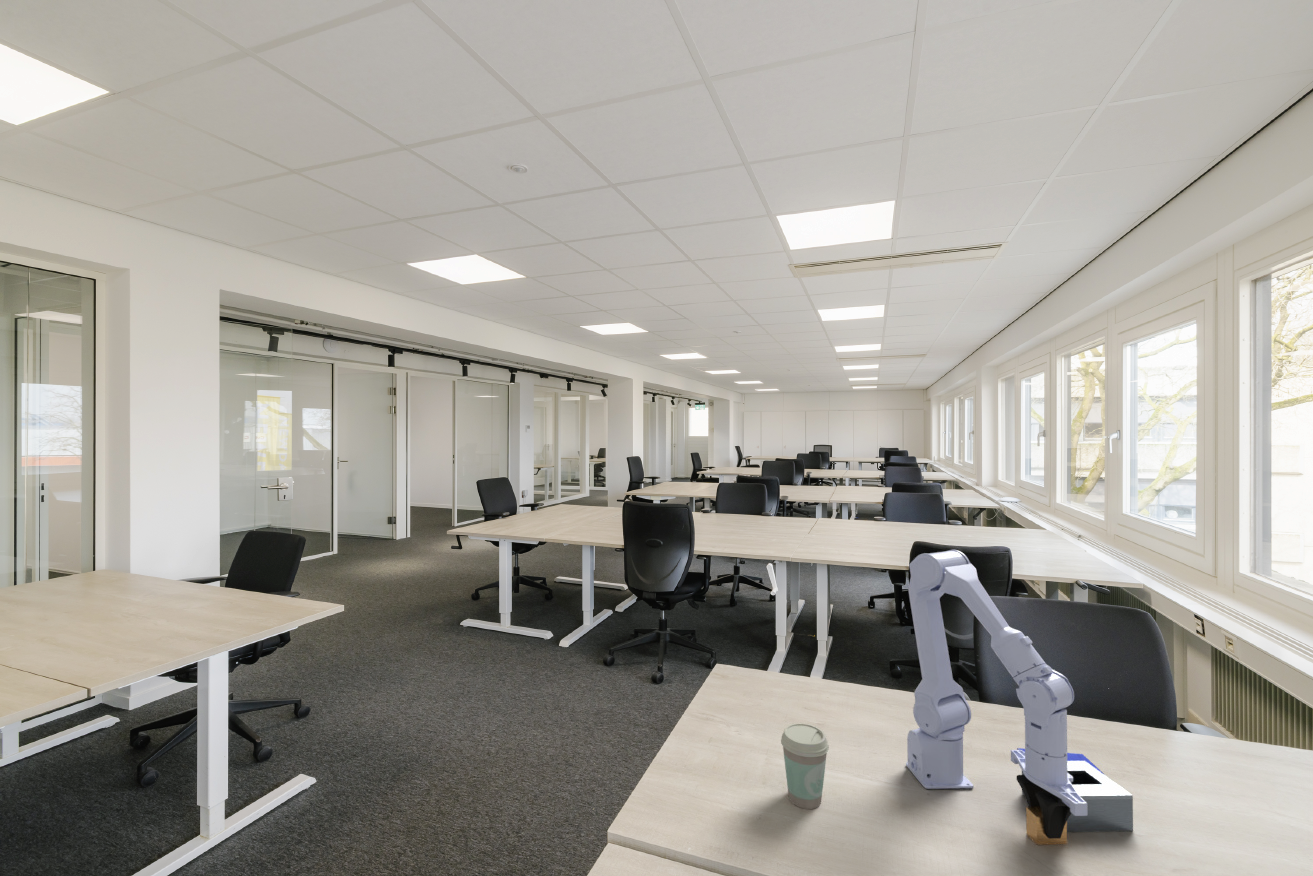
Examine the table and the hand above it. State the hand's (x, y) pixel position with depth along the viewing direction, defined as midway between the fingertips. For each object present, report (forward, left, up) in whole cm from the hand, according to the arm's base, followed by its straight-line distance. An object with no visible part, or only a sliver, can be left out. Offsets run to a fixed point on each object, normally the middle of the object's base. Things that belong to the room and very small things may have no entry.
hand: (1046, 830), depth 90 cm
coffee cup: (-37, +11, -2) cm, 39 cm away
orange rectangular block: (0, 0, -1) cm, 1 cm away
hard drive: (+18, +20, -2) cm, 27 cm away
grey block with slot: (+10, +7, -1) cm, 12 cm away
